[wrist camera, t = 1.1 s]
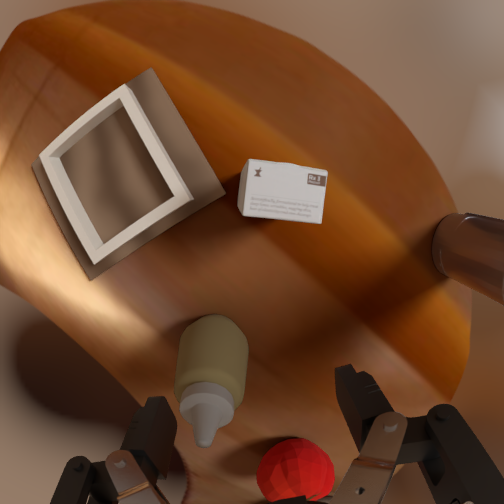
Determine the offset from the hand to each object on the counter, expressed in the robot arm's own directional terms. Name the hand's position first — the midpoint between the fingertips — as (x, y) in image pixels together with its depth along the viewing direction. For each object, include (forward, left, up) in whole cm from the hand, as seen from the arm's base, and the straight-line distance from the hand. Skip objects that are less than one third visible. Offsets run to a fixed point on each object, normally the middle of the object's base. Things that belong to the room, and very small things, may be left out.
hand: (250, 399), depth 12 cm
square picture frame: (+7, -17, -22) cm, 29 cm away
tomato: (+9, +32, -22) cm, 40 cm away
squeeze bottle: (+7, +6, -22) cm, 24 cm away
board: (+7, -17, -22) cm, 29 cm away
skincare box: (-7, -6, -22) cm, 24 cm away
